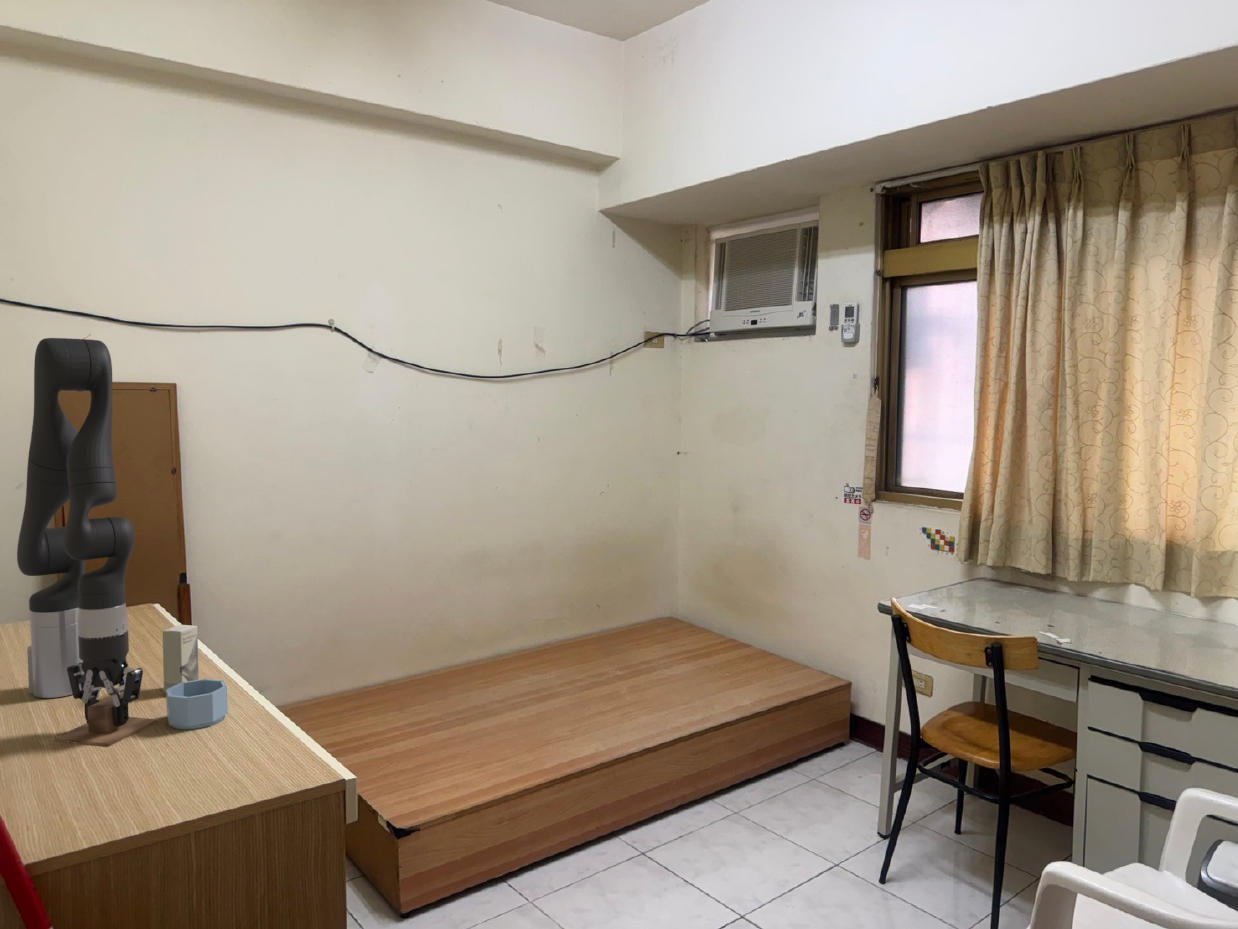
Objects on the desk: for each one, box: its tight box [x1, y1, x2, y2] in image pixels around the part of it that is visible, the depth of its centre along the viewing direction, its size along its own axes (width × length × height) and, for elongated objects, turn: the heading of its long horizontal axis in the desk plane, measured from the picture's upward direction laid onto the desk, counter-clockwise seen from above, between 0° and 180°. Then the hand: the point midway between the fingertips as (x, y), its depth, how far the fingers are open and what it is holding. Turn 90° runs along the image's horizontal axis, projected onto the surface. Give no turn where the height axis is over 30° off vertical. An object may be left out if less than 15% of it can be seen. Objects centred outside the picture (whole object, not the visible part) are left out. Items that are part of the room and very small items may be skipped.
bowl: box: [165, 678, 229, 731], centre depth 153 cm, size 10×10×6 cm
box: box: [162, 624, 200, 693], centre depth 168 cm, size 5×4×13 cm
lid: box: [54, 698, 158, 747], centre depth 147 cm, size 11×11×6 cm
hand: (107, 723), depth 147 cm, fingers open, 5 cm apart
